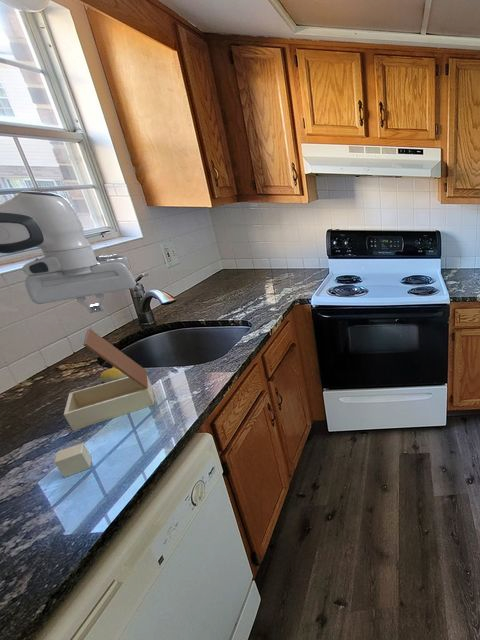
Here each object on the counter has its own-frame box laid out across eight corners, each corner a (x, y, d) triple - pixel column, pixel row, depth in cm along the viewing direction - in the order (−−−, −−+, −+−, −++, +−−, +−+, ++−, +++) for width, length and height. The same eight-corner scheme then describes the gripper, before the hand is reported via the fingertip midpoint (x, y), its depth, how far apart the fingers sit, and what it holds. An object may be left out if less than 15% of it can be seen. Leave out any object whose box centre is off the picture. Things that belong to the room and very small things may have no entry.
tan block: (63, 477, 81) (54, 462, 79) (66, 466, 85) (56, 451, 83) (90, 467, 84) (81, 452, 82) (92, 457, 87) (83, 442, 85)
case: (72, 430, 97) (63, 414, 94) (77, 408, 106) (69, 392, 104) (154, 404, 107) (147, 389, 104) (152, 386, 116) (145, 371, 114)
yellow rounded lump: (96, 383, 119) (90, 372, 117) (124, 369, 127) (119, 359, 125) (115, 385, 117) (110, 374, 116) (142, 371, 125) (137, 361, 123)
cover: (83, 345, 93) (85, 343, 93) (87, 329, 102) (89, 328, 102) (146, 389, 104) (148, 387, 104) (144, 371, 114) (146, 370, 114)
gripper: (125, 251, 100) (145, 299, 105) (18, 264, 88) (46, 317, 94) (125, 255, 95) (145, 304, 101) (12, 269, 84) (42, 324, 89)
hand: (97, 311), depth 97 cm, fingers closed
